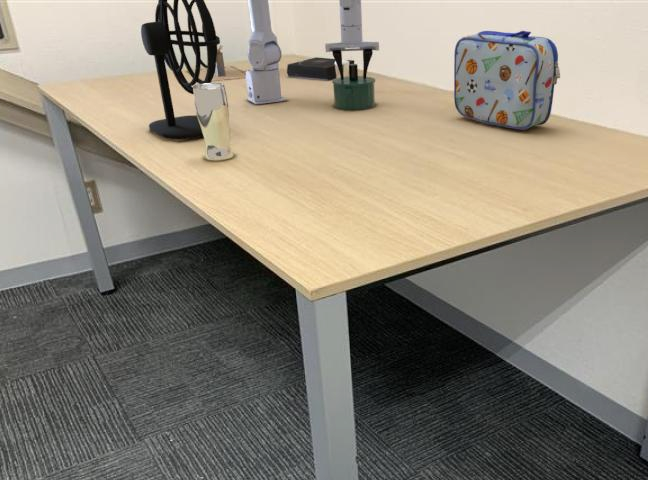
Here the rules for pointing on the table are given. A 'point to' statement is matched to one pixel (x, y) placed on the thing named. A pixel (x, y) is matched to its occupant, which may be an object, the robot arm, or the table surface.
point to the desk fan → (162, 49)
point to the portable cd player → (314, 69)
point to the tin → (354, 97)
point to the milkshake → (344, 66)
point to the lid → (353, 78)
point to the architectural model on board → (222, 70)
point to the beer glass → (213, 119)
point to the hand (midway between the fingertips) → (353, 79)
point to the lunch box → (505, 78)
